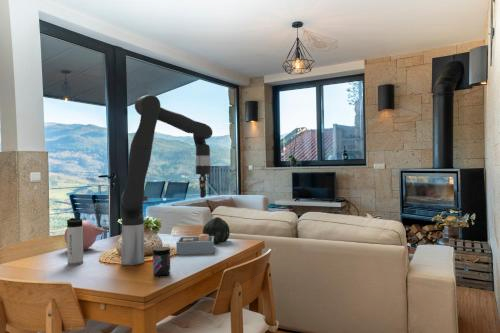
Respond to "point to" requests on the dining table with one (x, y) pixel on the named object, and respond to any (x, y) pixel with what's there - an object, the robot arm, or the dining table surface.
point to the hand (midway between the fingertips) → (203, 196)
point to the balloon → (88, 234)
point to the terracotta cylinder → (204, 237)
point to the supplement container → (161, 261)
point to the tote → (195, 246)
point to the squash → (217, 230)
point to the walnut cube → (188, 240)
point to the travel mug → (74, 241)
